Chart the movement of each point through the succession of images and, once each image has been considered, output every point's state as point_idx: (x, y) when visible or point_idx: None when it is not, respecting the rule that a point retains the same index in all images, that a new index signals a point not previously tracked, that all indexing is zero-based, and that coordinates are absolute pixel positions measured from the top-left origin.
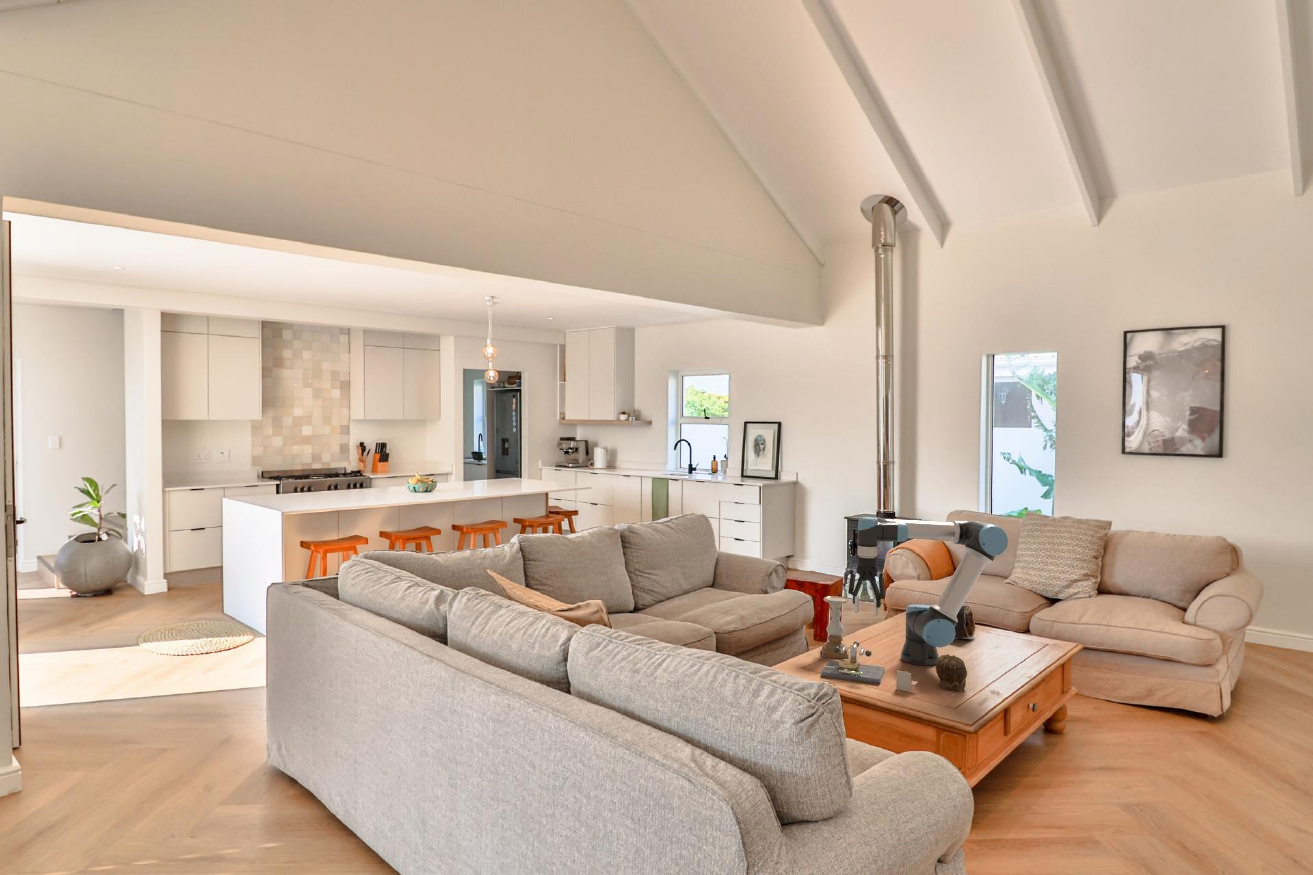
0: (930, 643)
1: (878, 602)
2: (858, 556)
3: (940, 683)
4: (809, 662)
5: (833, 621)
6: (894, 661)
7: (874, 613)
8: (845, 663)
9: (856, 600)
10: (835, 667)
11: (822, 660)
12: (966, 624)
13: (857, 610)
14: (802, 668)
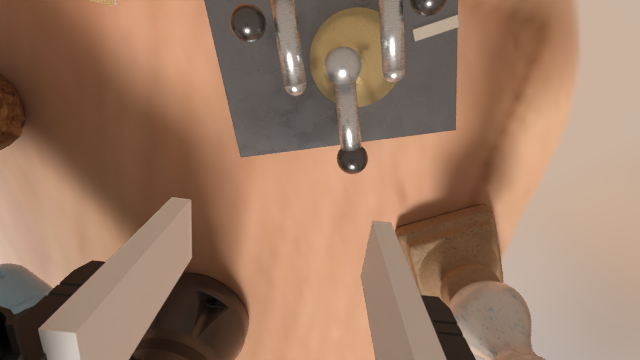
0: (15, 264)
1: (44, 310)
2: None
3: (2, 82)
4: (523, 117)
5: (517, 335)
6: (253, 272)
7: (174, 210)
8: (367, 26)
9: (404, 314)
10: (410, 44)
11: (478, 166)
12: None
13: (371, 252)
14: (543, 22)
